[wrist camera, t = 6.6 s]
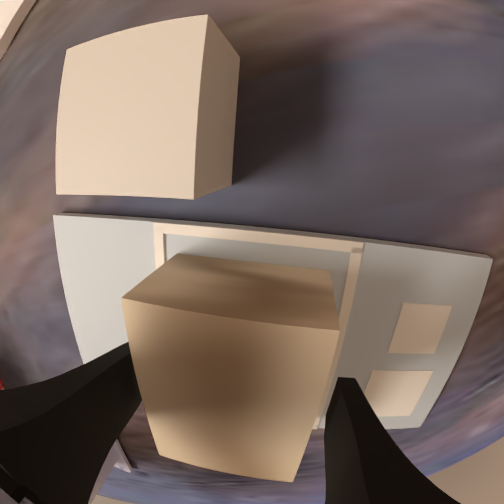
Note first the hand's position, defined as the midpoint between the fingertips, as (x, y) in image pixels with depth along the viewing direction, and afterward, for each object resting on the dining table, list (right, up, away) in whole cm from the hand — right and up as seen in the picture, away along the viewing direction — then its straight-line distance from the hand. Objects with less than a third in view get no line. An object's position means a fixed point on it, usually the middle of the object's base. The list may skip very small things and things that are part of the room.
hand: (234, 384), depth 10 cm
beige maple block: (-2, +10, +1) cm, 10 cm away
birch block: (0, +1, +2) cm, 2 cm away
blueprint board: (+1, +1, +3) cm, 3 cm away
